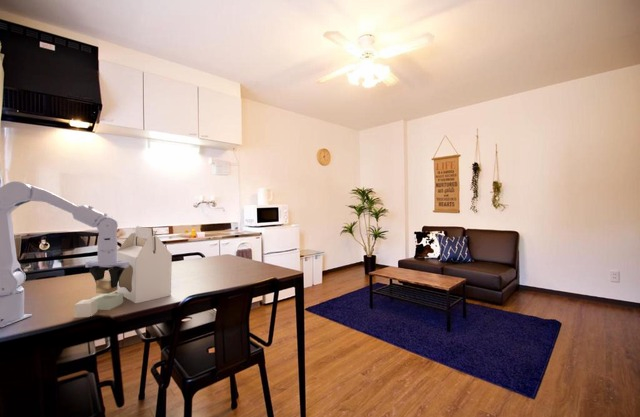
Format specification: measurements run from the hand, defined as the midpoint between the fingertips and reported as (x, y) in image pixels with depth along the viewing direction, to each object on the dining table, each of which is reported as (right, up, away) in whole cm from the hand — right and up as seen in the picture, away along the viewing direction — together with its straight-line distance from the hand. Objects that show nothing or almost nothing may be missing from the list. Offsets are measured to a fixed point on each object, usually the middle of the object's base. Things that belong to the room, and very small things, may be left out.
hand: (107, 286), depth 104 cm
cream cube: (-1, -7, -8) cm, 11 cm away
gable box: (+4, -7, +15) cm, 17 cm away
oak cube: (0, -2, 0) cm, 2 cm away
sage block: (0, -7, 0) cm, 7 cm away
